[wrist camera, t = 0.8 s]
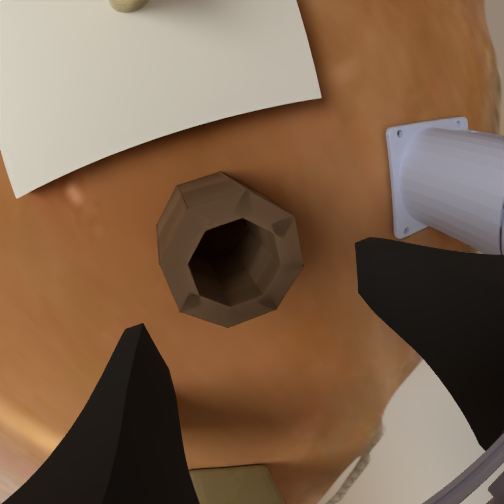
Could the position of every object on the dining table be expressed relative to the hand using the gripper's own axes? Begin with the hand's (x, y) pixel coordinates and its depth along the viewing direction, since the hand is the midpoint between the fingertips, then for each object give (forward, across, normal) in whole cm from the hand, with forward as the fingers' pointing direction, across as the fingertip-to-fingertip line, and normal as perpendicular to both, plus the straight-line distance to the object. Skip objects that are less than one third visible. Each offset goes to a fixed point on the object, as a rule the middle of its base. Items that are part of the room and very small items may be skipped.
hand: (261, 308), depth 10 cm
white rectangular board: (+8, +1, -12) cm, 15 cm away
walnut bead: (+8, 0, 0) cm, 8 cm away
